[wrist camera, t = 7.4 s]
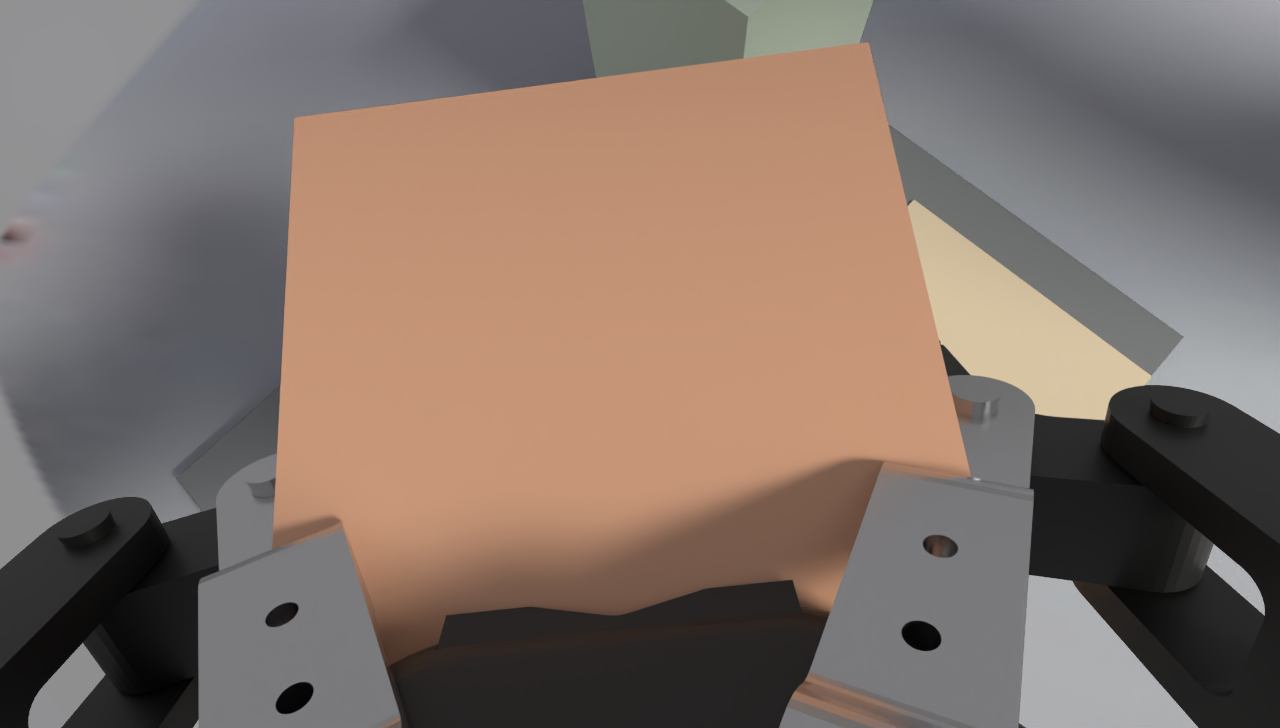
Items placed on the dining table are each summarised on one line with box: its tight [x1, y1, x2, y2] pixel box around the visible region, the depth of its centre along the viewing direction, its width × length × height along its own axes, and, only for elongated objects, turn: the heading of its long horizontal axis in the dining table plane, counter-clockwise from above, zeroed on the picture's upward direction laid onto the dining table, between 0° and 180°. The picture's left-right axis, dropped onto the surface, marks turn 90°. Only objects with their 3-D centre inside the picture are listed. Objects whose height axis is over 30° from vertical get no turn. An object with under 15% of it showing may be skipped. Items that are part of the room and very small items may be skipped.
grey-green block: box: [582, 0, 874, 78], centre depth 23 cm, size 7×7×10 cm
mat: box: [176, 125, 1183, 511], centre depth 25 cm, size 28×22×1 cm
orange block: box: [272, 42, 971, 665], centre depth 12 cm, size 7×7×10 cm
